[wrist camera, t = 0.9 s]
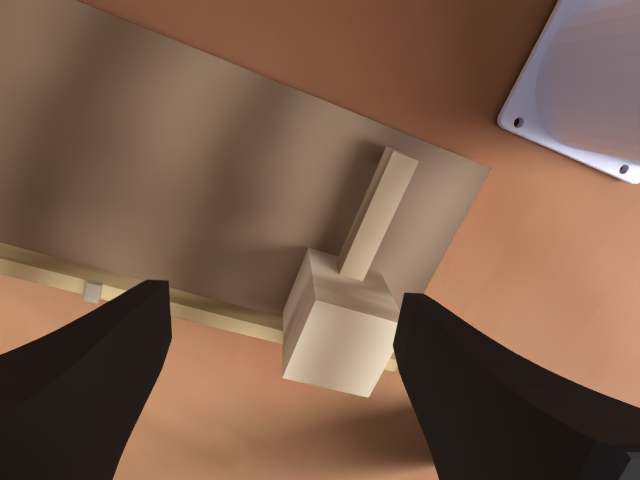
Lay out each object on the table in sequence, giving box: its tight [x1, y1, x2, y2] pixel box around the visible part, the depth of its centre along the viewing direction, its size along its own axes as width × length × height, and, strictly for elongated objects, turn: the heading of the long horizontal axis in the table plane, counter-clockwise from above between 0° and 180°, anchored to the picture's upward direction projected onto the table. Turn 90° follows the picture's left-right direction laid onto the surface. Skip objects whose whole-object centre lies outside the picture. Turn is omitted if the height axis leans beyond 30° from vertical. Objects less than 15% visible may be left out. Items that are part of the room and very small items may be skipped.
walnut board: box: [0, 0, 491, 372], centre depth 18 cm, size 22×12×4 cm, turn 69°
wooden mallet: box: [282, 147, 419, 398], centre depth 17 cm, size 4×10×5 cm, turn 159°
